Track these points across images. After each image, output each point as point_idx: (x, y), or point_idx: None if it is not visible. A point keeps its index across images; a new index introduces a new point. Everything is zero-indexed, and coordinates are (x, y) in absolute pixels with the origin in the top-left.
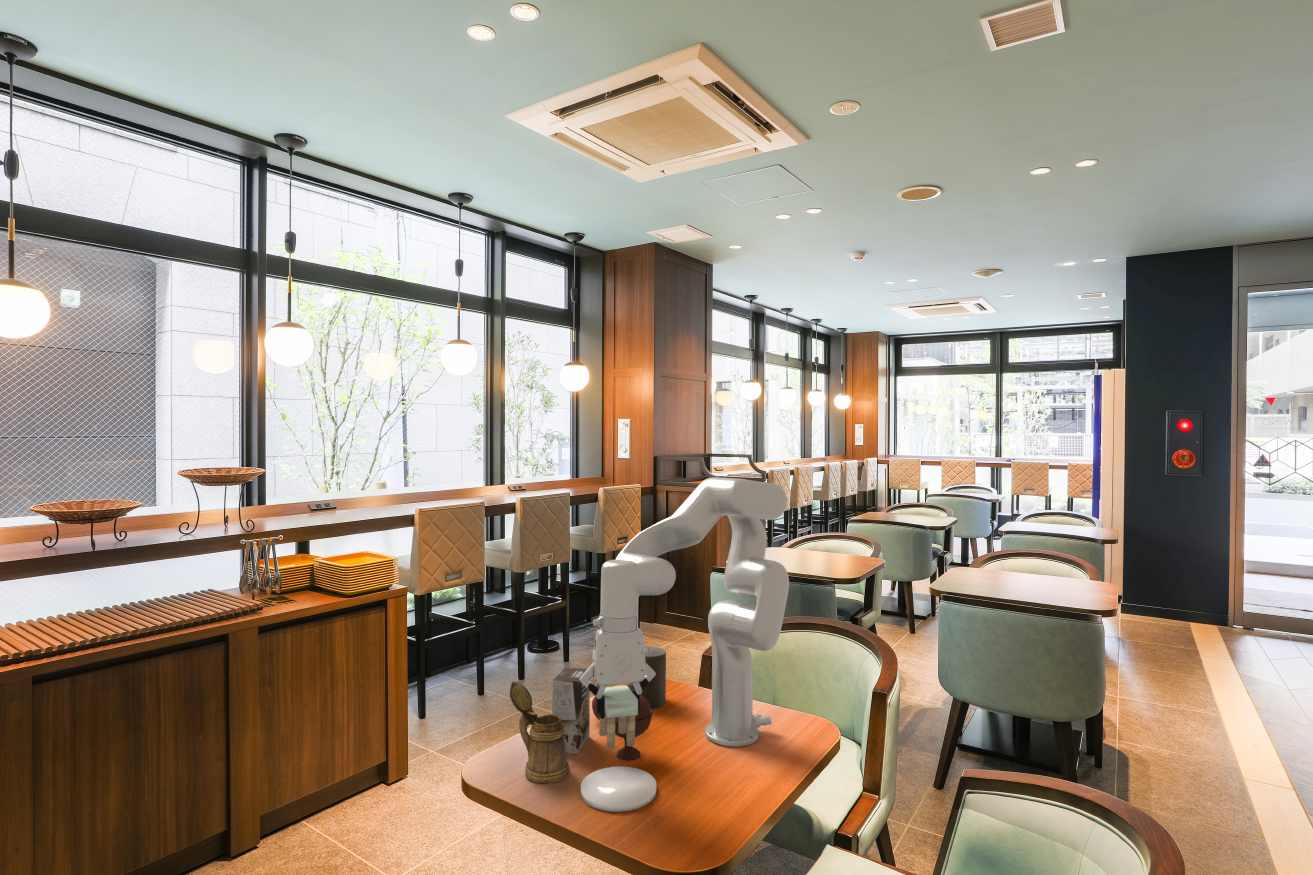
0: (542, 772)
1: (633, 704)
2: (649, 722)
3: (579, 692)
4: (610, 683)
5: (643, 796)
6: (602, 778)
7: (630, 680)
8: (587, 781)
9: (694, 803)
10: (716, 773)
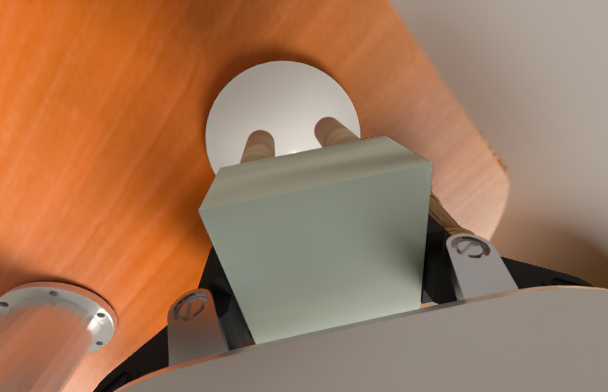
0: None
1: (237, 188)
2: None
3: None
4: (493, 305)
5: (234, 93)
6: None
7: (249, 372)
8: None
9: (115, 72)
10: (76, 191)
